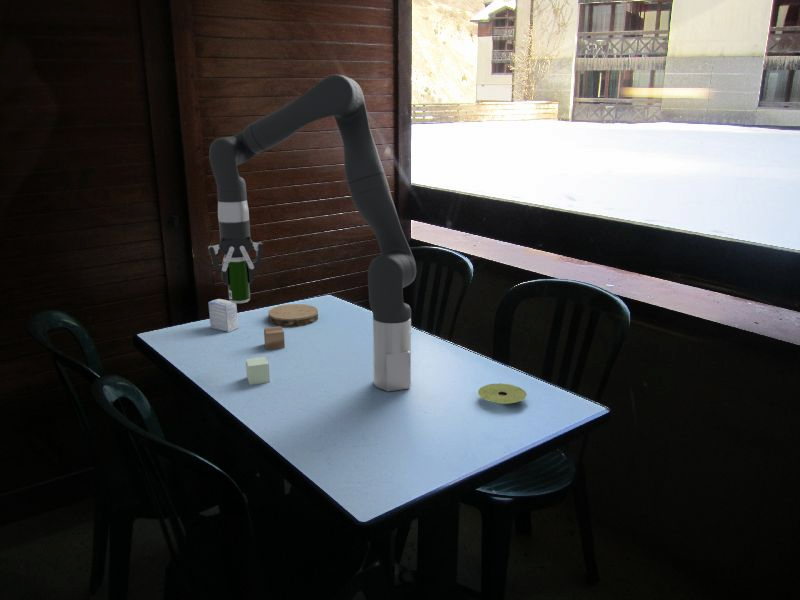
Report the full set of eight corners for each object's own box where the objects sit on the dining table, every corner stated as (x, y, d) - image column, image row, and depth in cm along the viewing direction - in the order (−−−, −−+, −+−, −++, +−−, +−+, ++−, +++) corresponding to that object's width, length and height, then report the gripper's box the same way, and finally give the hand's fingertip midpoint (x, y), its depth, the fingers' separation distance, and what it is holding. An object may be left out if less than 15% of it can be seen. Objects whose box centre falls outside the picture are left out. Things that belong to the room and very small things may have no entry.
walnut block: (284, 348, 189) (283, 331, 187) (267, 350, 187) (266, 333, 186) (281, 342, 193) (281, 326, 192) (264, 344, 192) (263, 328, 190)
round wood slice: (272, 330, 204) (272, 320, 204) (265, 315, 219) (264, 306, 218) (323, 324, 209) (322, 315, 209) (312, 310, 224) (312, 302, 223)
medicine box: (238, 328, 205) (237, 302, 202) (228, 332, 201) (226, 305, 199) (221, 324, 209) (218, 298, 206) (210, 328, 205) (207, 301, 203)
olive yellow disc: (486, 412, 148) (486, 405, 148) (471, 392, 159) (472, 385, 158) (533, 408, 151) (534, 400, 150) (515, 388, 161) (516, 381, 161)
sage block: (269, 382, 165) (268, 363, 164) (249, 385, 164) (248, 366, 162) (266, 374, 170) (265, 356, 168) (246, 377, 168) (245, 359, 167)
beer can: (236, 305, 168) (232, 259, 165) (225, 300, 172) (221, 255, 169) (254, 300, 172) (251, 255, 168) (243, 296, 175) (240, 252, 172)
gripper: (205, 222, 160) (211, 290, 165) (264, 219, 165) (269, 284, 169) (203, 218, 167) (208, 282, 172) (260, 214, 171) (264, 278, 176)
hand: (238, 283), depth 170 cm, fingers closed on beer can, 5 cm apart
